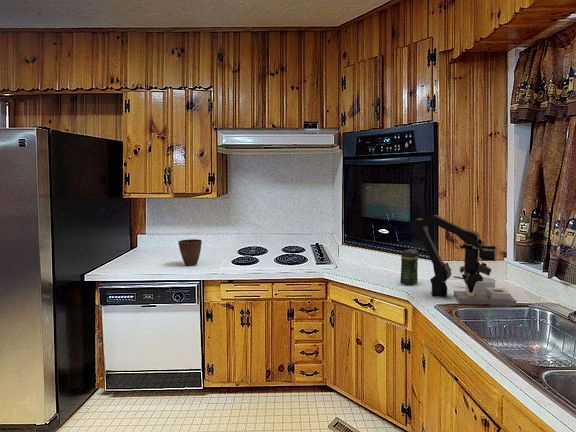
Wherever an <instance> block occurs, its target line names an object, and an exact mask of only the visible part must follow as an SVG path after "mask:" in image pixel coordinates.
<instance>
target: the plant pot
mask: <svg viewBox="0 0 576 432" xmlns="http://www.w3.org/2000/svg"><path fill="white" fill-rule="evenodd" d="M202 242H203V240H202V239H194V238H191V239H182V240H178V241H177V243H178V247H179V252H180V254H181V258H182V261H183V263H184V266H186V267H194V266H197V264H198V262H199V259H200V255H201V252H202V251H201V250H202V249H201V248H202Z"/></svg>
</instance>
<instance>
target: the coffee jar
mask: <svg viewBox="0 0 576 432" xmlns="http://www.w3.org/2000/svg"><path fill="white" fill-rule="evenodd" d="M400 256H401V257H400V259H401V261H400V262H401V265H400V266H401V267H400V279H399V282H400V284H402V285H404V286H414V285H416V284H418V282H419V280H418V279H419V277H418V276H419V275H418V268H419V267H418V264H419V263H418V262H419V251H418V250H417V249H413V248H408V249H406V250H402V251H401V254H400Z"/></svg>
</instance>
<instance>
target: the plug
mask: <svg viewBox="0 0 576 432" xmlns="http://www.w3.org/2000/svg"><path fill="white" fill-rule="evenodd" d="M474 289H475V286H474ZM474 289H473V292H472V293H470V292H469V289H468V286H467V283H466V284H465V291H466V296H474V292H475V290H474Z"/></svg>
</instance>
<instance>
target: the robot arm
mask: <svg viewBox="0 0 576 432" xmlns="http://www.w3.org/2000/svg"><path fill="white" fill-rule="evenodd" d="M431 225H436V226H437V227H440V228H442V229H443V230H446V231H448V232H450V233H451V234H454V235H455V236H456V237H458V238H459V239H460V240H461V241H463V242H464V243H463V244H462V245H461V246H460V247H459V248H460V249H463V250H464V259H463V263H464V265H462V266H460V267H459V273H461V277H463V279H462V280H463V282H464V284H465V285H466V283H467V286H468V289H469V292H470V293H472V292H473V289H474V286H475V284H476V282H478V281H483V277H484V276H482V275H481V274H480V273H482V274H484V275H486V276H490V274H491V273H492V268H491V267H489V266H487V264H486V263H485V262H480V261H479V259H481V260H483V261H488V262H491V261H492V262H496V261H497V257H498V256H497V255H498V252H497V251H498V250H497V245H486V244H484V242H483V240H482V239H481V235H480V233H479V232H478V231H476V230H473V229H468V228H464V227H462V226H459V225H457V224H456V223H453V222H451V221H450V220H447V219H445V218H443V217H441V216H440V215H439V214H434V215H432V216H430V217H426V218H421V217H420V218H416V219H412V221H411V222H410V228H411V229H412V231H413V232H414V234H415V235H417V237H418V238H419V239H420V241H421V243H422V245H423V247H424V248H425V251H426V253H427V255H428V257H429V259H430V261H431V263H432V267H433V273H434V276H432V277H431V278H430V285H431V288H430V289H431V291H430V294H431V297H436V298H437V297H438V298H439V297H441V298H447V295H448V286H447V283H446V282H447V280H448V279H450V278H451V276H452V268H451V267H450V265H449V262H446V263H445V262H444V261H443V260H442V258H441V256H440V254H439V252H438V250H437V248H436V246H435V243H434V242H433V240H432V238H431V236H430V234H429V227H428V226H431Z"/></svg>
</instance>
